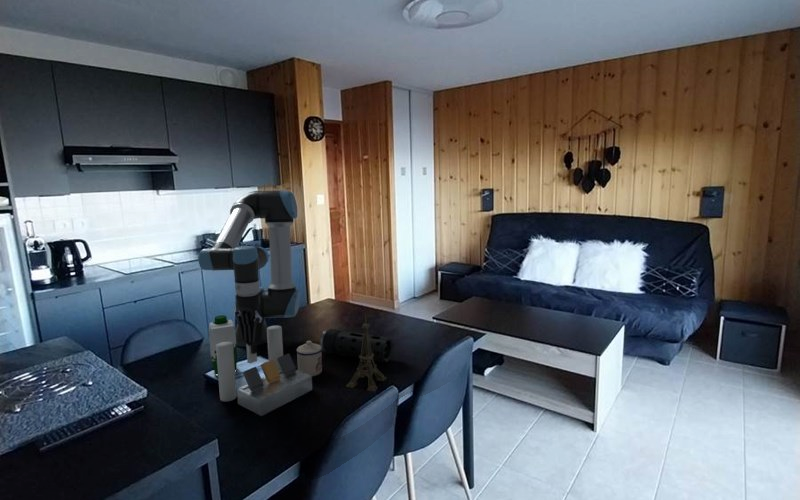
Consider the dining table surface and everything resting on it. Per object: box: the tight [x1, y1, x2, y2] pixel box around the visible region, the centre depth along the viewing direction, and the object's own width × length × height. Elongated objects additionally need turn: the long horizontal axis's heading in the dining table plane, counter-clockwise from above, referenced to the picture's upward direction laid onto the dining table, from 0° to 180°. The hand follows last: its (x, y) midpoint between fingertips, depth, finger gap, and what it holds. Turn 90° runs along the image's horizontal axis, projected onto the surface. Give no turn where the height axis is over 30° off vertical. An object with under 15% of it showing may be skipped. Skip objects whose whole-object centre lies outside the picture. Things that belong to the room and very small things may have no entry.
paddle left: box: [242, 366, 264, 392], centre depth 135 cm, size 2×4×7 cm
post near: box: [216, 342, 237, 402], centre depth 138 cm, size 5×5×18 cm
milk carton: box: [208, 315, 238, 374], centre depth 158 cm, size 9×9×20 cm
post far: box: [267, 325, 284, 371], centre depth 153 cm, size 5×5×18 cm
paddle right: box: [277, 353, 297, 376], centre depth 145 cm, size 2×4×7 cm
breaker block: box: [236, 369, 313, 417], centre depth 140 cm, size 12×20×5 cm, turn 143°
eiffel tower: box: [345, 312, 388, 393], centre depth 148 cm, size 11×11×25 cm
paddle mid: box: [260, 360, 281, 384], centre depth 140 cm, size 2×4×7 cm
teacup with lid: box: [295, 340, 323, 377], centre depth 159 cm, size 12×9×12 cm
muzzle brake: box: [319, 328, 394, 364], centre depth 170 cm, size 10×28×10 cm, turn 68°
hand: (252, 361), depth 146 cm, fingers closed
